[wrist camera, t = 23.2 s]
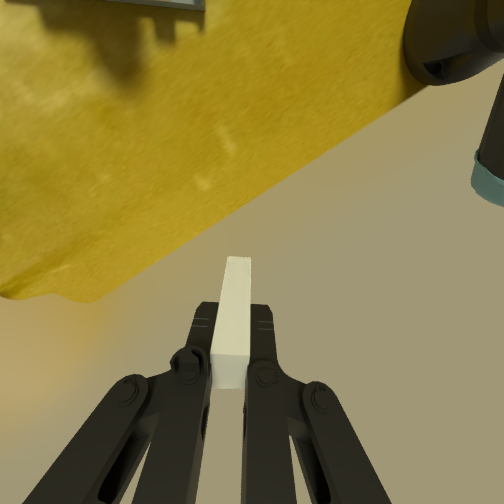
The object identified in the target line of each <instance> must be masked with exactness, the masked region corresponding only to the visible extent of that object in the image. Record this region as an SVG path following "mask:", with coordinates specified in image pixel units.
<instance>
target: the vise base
mask: <svg viewBox="0 0 504 504" xmlns="http://www.w3.org/2000/svg"><path fill="white" fill-rule="evenodd" d="M107 1H116V2H125V3H134V4H144V5H153V6H162V7H171V8H180V9H190V10H199V11H205V5H204V0H107Z"/></svg>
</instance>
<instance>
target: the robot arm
mask: <svg viewBox="0 0 504 504" xmlns="http://www.w3.org/2000/svg"><path fill="white" fill-rule="evenodd" d="M404 54H405V59H406V62H407V65H408V68H409V70H410V71H411V73H412V74H413V76H414V77H415V78H416V79H418V80H419V81H420V82H422V83H424V84H427V85H432V86H440V85H446V84H451V83H455V82H459V81H462V80H465V79H468V78H470V77H472V76H474V75H476V74H478V73H480V72H481V71H483V70H485V69H486V68H488V67H490V66H491V65H493V64H495V63H496V62H498V61H500V60H501V59H503V58H504V0H413V1H412V3H411V6H410V9H409V13H408V16H407V20H406V25H405V32H404ZM474 160H475V165H474V169H473V173H472V176H471V185H472V187H473V188H474V189H475V191H476V193H477V194H478V195H480V196H481V197H482V198H484V199H485V200H487V201H489V202H491V203H493V204H496V205H499V206H502V207H504V74H503V77H502V80H501V83H500V86H499V89H498V92H497V95H496V98H495V101H494V104H493V107H492V110H491V113H490V116H489V119H488V122H487V125H486V128H485V131H484V134H483V137H482V140H481V143H480V146H479V149H478V150H477V151H476V153H475V156H474ZM250 291H251V258H248V257H234V256H228V260H227V265H226V270H225V275H224V281H223V287H222V292H221V297H220V302H219V303H218V302H202V303H201V304H200V305H199V307H198V308H197V309H196V312H195V315H194V319H193V322H192V326H191V329H190V332H189V335H188V339H187V342H186V345H185V347H184V348H181V349H180V350H179V351H177V352H176V353H175V354H174V355H173V357H172V359H171V360H170V365H171V369H170V370H169V371H167V372H165V373H162V374H159V375H156V376H152V377H149V378H145V377H143V376H142V375H139V374H133V375H129V376H125V377H124V378H122V379H121V380H119V381H117V382H116V384H115V385H114V386H113V387H112V388H111V389H110V390H109V391H108V393H107V394H106V395H105V396H104V398H103V399H102V401H101V402H100V403H99V404H98V406H97V407H96V408H95V410H94V411H93V412H92V413H91V415H90V416H89V417H88V419H87V420H86V421H85V423H84V424H83V425H82V427H81V428H80V429H79V430H78V432H77V433H76V434H75V436H74V437H73V438H72V440H71V441H70V442H69V444H68V445H67V446H66V447H65V449H64V450H63V451H62V453H61V454H60V455H59V457H58V458H57V459H56V460H55V462H54V463H53V464H52V466H51V467H50V468H49V470H48V471H47V472H46V473H45V475H44V476H43V477H42V479H41V480H40V482H39V483H38V484H37V485H36V487H35V488H34V489H33V490H32V492H31V493H30V494H29V496H28V497H27V498H26V500H25V501H24V502H23V503H22V504H119V503H120V501H121V499H122V497H123V495H124V493H125V491H126V489H127V487H128V485H129V483H130V481H131V479H132V477H133V476H134V474H135V471H136V470H137V468H138V466H139V463H140V462H141V460H142V458H143V456H144V454H145V451H146V450H147V448H148V446H149V444H150V442H151V444H150V447H149V450H148V453H147V456H146V460H145V463H144V466H143V469H142V472H141V476H140V478H139V481H138V485H137V488H136V491H135V494H134V497H133V501H132V504H195V501H196V494H197V488H198V481H199V475H200V468H201V461H202V454H203V447H204V441H205V434H206V427H207V421H208V413H209V407H210V393H211V387H212V388H227V389H245V402H244V408H243V413H244V418H243V450H242V480H241V481H242V482H241V504H297V501H296V492H295V483H294V475H293V466H292V458H291V449H290V441H289V435H290V436H291V437H292V440H293V443H294V446H295V450H296V453H297V456H298V459H299V463H300V466H301V469H302V473H303V476H304V479H305V482H306V486H307V489H308V492H309V495H310V499H311V502H312V504H392V503H391V501H390V499H389V498H388V496H387V494H386V492H385V490H384V488H383V486H382V484H381V482H380V480H379V478H378V476H377V474H376V472H375V470H374V468H373V466H372V464H371V462H370V460H369V458H368V457H367V455H366V453H365V451H364V449H363V447H362V445H361V443H360V441H359V439H358V437H357V435H356V433H355V431H354V429H353V427H352V425H351V423H350V422H349V419H348V418H347V416H346V414H345V412H344V410H343V408H342V406H341V404H340V402H339V400H338V398H337V396H336V395H335V393H334V392H333V391H332V389H331V388H329V387H328V386H327V385H326V384H324V383H321V382H318V381H316V382H315V381H312V382H310V383H308V384H305V383H302V382H300V381H297V380H295V379H293V378H291V377H289V376H288V375H286V374H285V373H284V372H283V370H282V369H281V368H280V366H279V364H278V360H277V353H276V343H275V334H274V324H273V315H272V312H271V310H270V308H269V306H268V305H260V304H250V296H251V295H250V293H251V292H250ZM151 440H152V441H151Z"/></svg>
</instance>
